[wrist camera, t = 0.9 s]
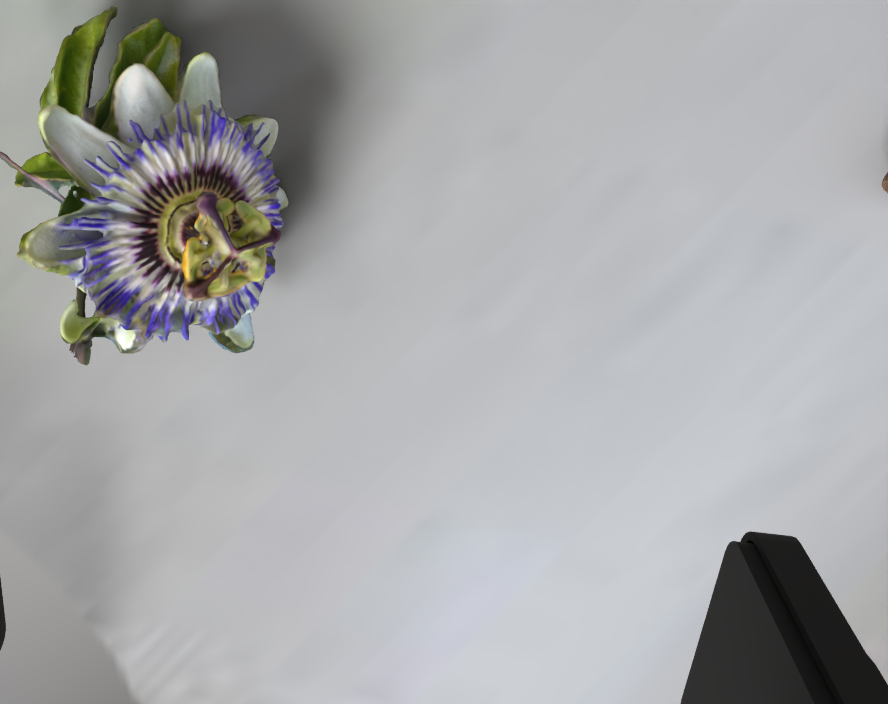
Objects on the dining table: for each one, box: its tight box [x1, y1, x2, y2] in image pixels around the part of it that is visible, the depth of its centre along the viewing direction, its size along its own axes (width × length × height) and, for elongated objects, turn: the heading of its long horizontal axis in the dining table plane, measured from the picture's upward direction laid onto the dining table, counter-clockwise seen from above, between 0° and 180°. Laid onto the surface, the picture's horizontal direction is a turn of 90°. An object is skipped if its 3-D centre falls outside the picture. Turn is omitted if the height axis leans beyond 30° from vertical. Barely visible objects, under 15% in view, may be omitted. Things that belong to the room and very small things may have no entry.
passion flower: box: [0, 6, 289, 365], centre depth 32 cm, size 11×11×12 cm
